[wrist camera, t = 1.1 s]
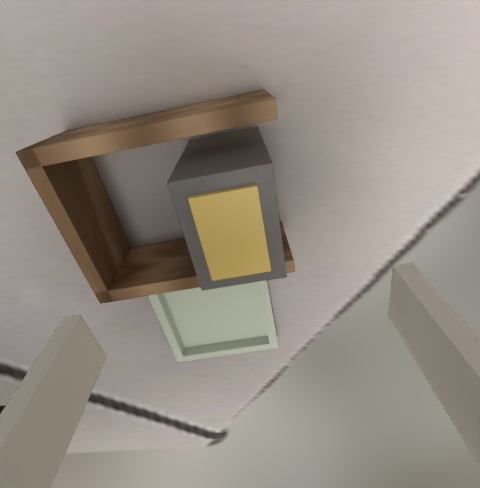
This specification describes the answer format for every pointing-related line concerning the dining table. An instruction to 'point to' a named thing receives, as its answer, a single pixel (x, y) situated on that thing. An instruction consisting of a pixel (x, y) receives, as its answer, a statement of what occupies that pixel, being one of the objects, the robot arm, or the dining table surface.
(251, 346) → the tray
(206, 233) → the grey box yellow panel
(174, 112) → the bay
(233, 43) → the dining table surface
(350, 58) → the dining table surface
